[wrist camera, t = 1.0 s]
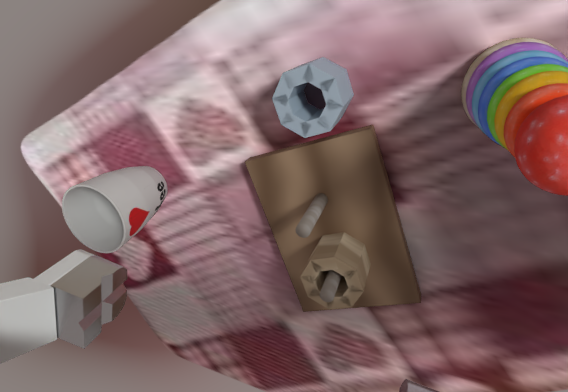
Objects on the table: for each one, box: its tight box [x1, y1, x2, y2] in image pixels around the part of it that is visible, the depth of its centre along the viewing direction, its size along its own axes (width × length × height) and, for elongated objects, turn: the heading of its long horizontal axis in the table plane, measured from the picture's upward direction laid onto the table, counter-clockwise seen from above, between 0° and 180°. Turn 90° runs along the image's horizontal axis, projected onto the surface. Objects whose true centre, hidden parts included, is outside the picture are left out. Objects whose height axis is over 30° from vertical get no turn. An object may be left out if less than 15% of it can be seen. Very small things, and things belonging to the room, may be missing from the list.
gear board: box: [245, 125, 421, 312], centre depth 42 cm, size 14×20×8 cm
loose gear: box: [272, 57, 354, 138], centre depth 38 cm, size 6×6×5 cm
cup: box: [62, 166, 167, 253], centre depth 48 cm, size 8×8×10 cm
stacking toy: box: [461, 38, 568, 196], centre depth 27 cm, size 8×8×19 cm
